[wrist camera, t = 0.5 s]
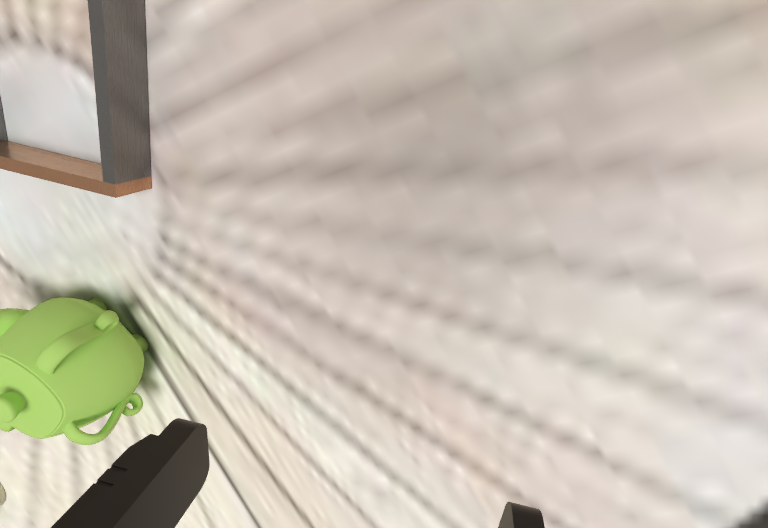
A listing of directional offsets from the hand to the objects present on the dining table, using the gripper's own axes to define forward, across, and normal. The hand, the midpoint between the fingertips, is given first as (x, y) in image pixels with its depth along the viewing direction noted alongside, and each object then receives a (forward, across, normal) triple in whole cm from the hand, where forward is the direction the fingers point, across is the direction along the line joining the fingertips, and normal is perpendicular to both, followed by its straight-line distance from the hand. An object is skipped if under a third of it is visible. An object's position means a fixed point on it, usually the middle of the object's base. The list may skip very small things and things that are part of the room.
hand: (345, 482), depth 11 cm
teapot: (+28, +37, +22) cm, 51 cm away
